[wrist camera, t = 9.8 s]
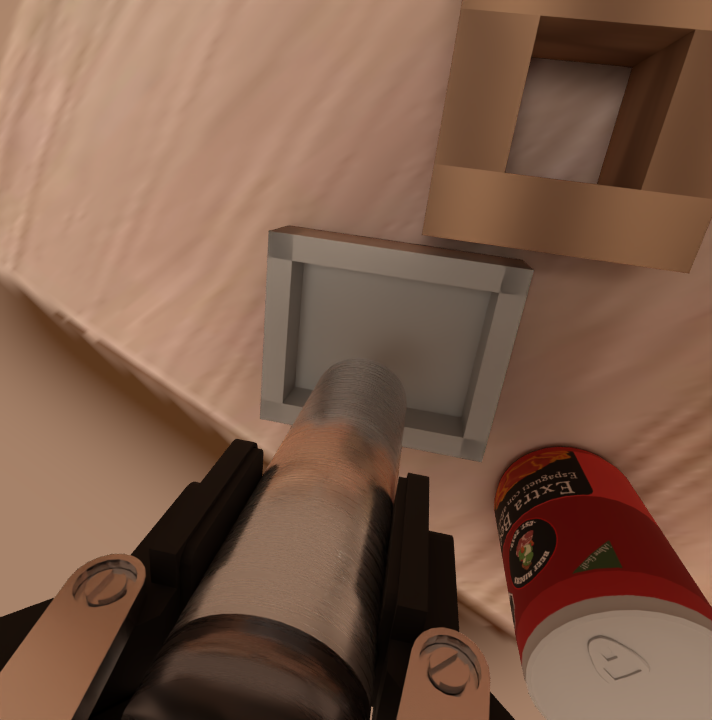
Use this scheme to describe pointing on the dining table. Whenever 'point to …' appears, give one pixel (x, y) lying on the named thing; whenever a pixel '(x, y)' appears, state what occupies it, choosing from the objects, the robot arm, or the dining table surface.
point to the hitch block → (626, 148)
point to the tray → (393, 328)
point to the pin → (295, 572)
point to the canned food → (599, 595)
